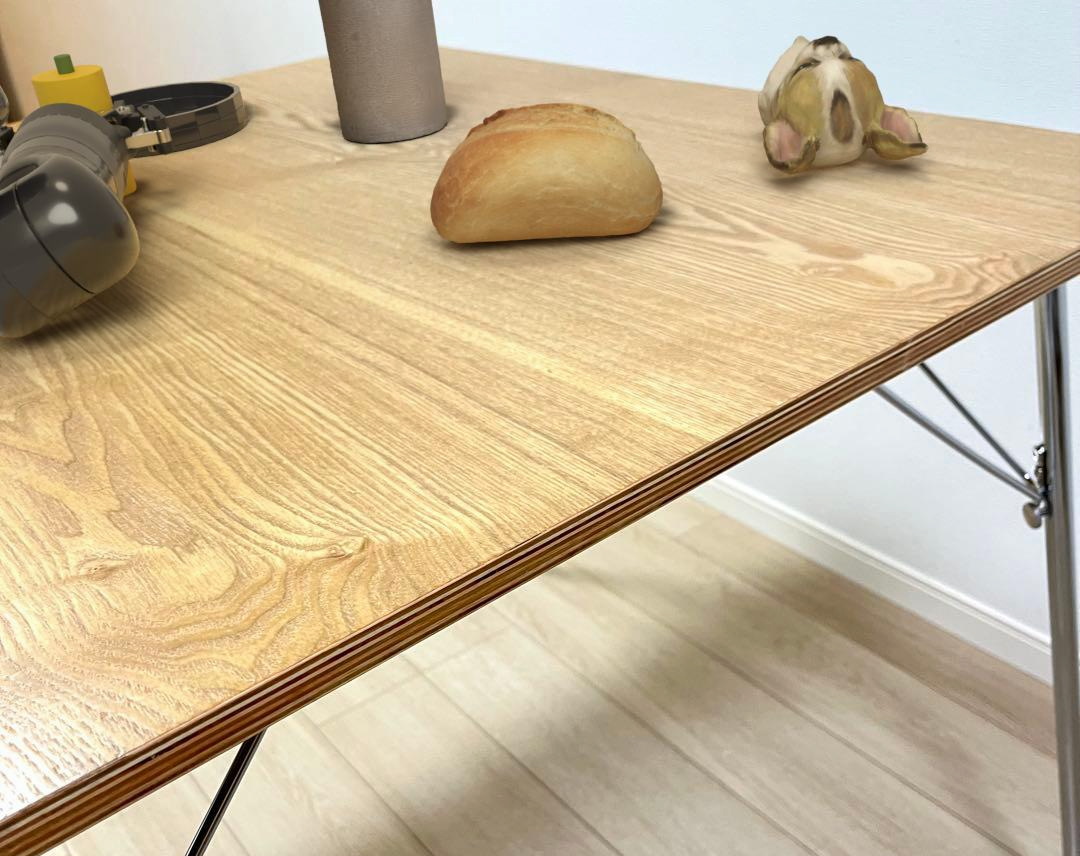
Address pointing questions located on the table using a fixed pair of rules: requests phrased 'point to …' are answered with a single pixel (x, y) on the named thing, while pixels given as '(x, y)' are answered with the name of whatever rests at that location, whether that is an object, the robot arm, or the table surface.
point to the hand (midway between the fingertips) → (85, 119)
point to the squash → (76, 91)
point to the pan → (191, 111)
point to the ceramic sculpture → (829, 110)
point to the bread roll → (546, 178)
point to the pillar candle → (384, 68)
